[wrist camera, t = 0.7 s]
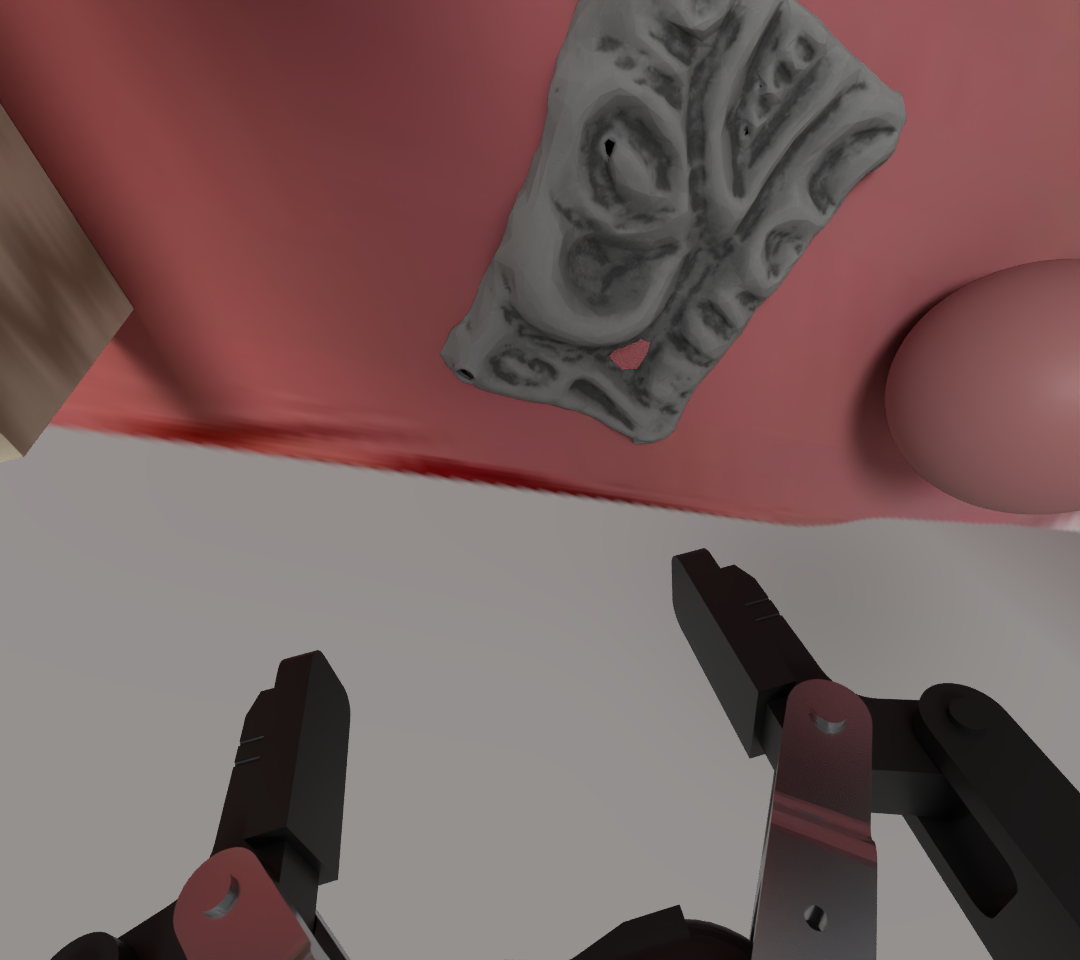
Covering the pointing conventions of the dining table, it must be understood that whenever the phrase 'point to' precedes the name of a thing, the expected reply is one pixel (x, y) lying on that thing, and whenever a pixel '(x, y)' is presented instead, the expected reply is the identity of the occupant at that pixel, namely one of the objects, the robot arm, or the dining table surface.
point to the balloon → (996, 391)
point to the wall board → (45, 298)
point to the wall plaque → (668, 200)
